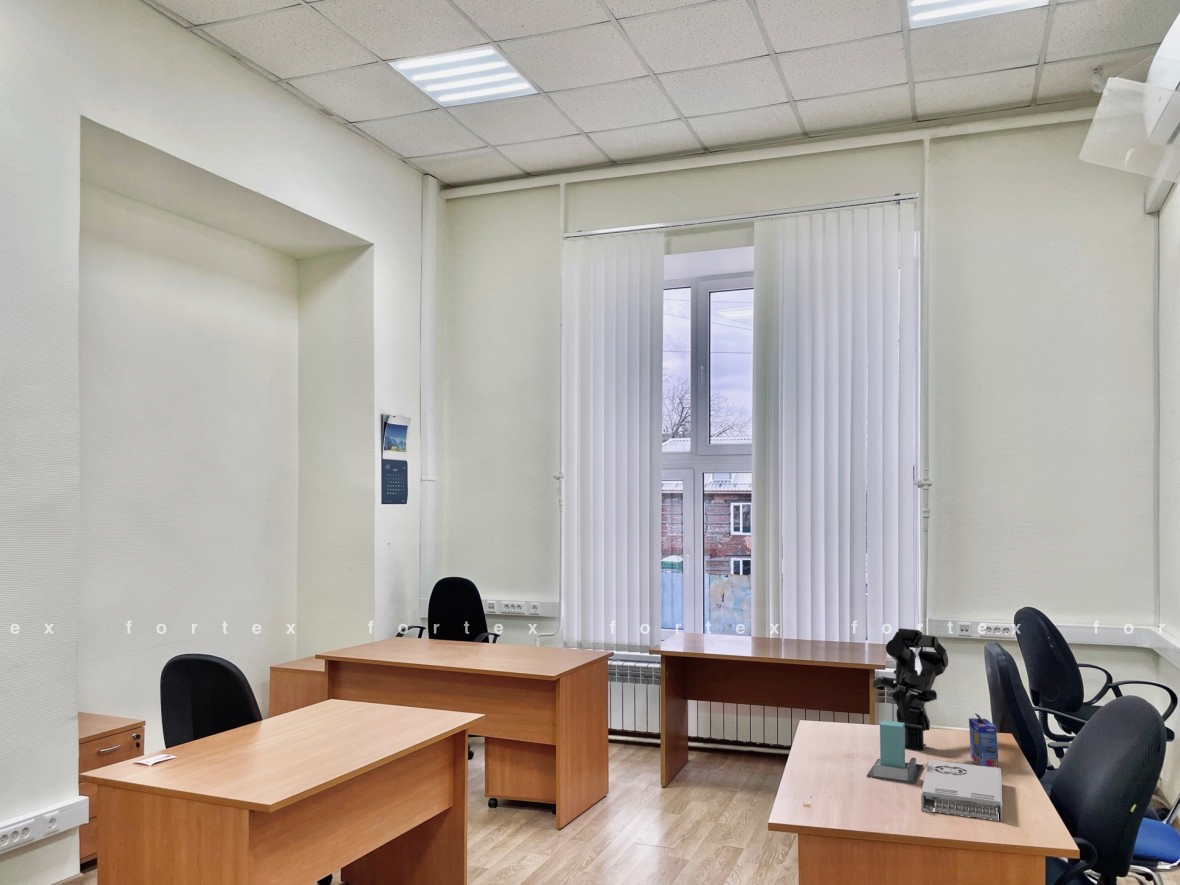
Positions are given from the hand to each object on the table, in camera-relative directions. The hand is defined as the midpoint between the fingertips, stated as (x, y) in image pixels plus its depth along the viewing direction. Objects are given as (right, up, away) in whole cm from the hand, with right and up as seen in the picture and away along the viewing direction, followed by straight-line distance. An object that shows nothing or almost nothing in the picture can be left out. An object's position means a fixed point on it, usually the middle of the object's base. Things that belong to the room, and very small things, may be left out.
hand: (903, 717), depth 275 cm
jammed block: (-10, -11, -19) cm, 24 cm away
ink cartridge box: (+22, -12, -5) cm, 26 cm away
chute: (-8, -11, -15) cm, 20 cm away
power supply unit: (+3, -11, -37) cm, 38 cm away
